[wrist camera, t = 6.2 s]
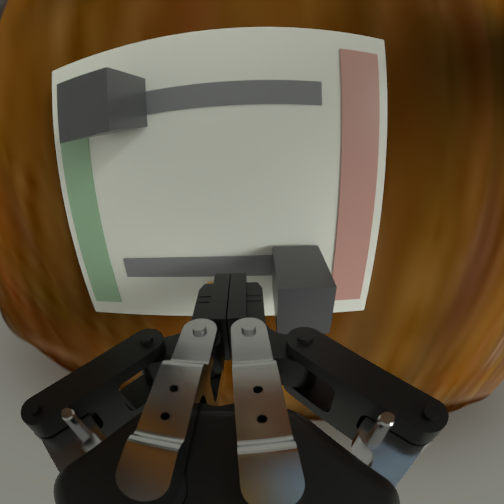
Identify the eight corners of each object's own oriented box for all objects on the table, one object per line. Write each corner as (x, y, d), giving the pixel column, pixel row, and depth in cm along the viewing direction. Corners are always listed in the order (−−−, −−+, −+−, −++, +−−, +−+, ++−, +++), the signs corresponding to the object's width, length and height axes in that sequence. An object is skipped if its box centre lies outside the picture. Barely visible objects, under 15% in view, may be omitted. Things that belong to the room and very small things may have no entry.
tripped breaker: (317, 245, 15) (336, 286, 11) (314, 285, 16) (329, 332, 12) (272, 246, 15) (277, 289, 11) (272, 287, 16) (276, 335, 12)
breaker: (145, 78, 11) (106, 67, 7) (147, 126, 12) (109, 131, 8) (102, 88, 11) (56, 84, 7) (105, 134, 12) (59, 143, 9)
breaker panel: (370, 47, 12) (384, 39, 10) (354, 298, 19) (362, 317, 17) (70, 73, 12) (51, 71, 10) (108, 301, 19) (97, 318, 18)
